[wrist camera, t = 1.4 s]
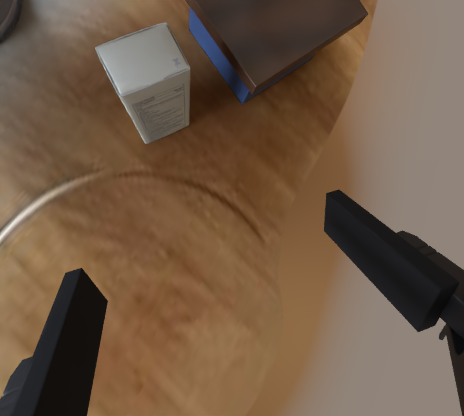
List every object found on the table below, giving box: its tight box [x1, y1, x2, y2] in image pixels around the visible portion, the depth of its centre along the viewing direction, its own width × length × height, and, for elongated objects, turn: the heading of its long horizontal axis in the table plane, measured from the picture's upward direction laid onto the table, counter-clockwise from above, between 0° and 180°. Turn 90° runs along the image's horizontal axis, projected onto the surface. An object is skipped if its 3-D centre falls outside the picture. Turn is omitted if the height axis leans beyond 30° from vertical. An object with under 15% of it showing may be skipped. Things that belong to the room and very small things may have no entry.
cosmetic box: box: [95, 23, 190, 144], centre depth 25 cm, size 6×4×12 cm
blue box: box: [189, 7, 315, 104], centre depth 31 cm, size 12×13×7 cm
